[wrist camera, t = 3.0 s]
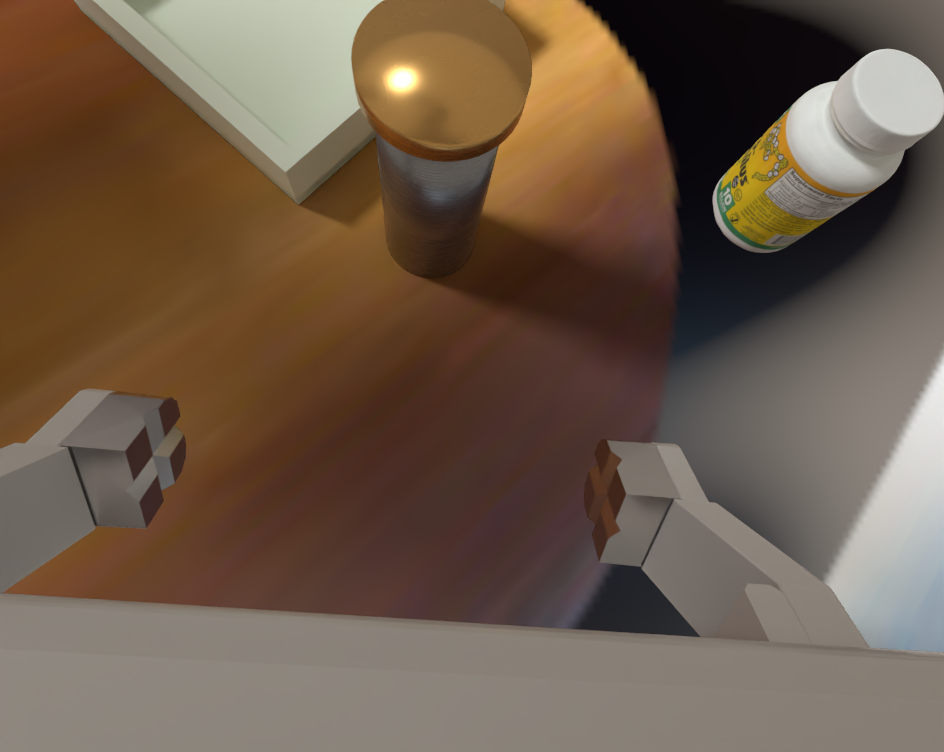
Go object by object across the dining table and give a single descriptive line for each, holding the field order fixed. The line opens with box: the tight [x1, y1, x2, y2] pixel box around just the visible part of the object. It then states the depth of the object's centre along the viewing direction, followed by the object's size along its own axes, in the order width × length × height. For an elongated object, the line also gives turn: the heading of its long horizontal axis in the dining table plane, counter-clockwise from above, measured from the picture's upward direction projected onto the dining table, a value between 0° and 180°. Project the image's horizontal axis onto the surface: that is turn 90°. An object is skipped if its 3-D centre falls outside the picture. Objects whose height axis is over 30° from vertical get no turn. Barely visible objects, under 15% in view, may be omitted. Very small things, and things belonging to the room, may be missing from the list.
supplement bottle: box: [713, 49, 944, 253], centre depth 26 cm, size 5×5×10 cm
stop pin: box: [351, 0, 532, 278], centre depth 23 cm, size 6×6×12 cm
